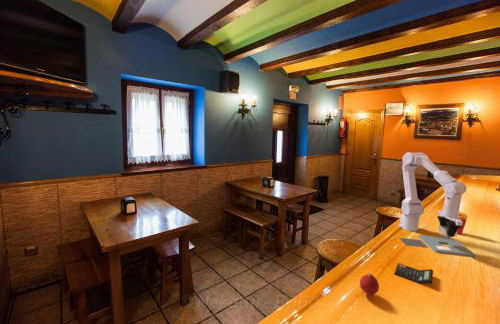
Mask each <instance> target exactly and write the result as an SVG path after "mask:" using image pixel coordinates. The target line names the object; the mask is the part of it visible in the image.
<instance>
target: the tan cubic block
mask: <svg viewBox="0 0 500 324" xmlns="http://www.w3.org/2000/svg"><path fill="white" fill-rule="evenodd" d="M437 230H438V232H439V233H440V234H442V237H444V238H446V239H450V238H451V237H449V236H448V227H447V226H443V225H440V224H439V225H438V229H437ZM457 235H458V234H457V232H456V233H455V235H454V237H457Z"/></svg>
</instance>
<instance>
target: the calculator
mask: <svg viewBox="0 0 500 324" xmlns="http://www.w3.org/2000/svg"><path fill="white" fill-rule="evenodd" d="M393 275H394V276H398V277H401V278H403V279H405V280H409V281H411V282H414V283H416V284H433V275H434V270H433V269H432V268H430V269H429V268H428V269H418V268H414V267H411V266H408V265H406V264H402V263H399V262H398V263H397V265H396V268H395V271H394V274H393Z"/></svg>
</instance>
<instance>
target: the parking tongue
mask: <svg viewBox="0 0 500 324" xmlns="http://www.w3.org/2000/svg"><path fill="white" fill-rule="evenodd" d="M398 239H399V240H400V241H401V242H402V243H403V244H404V245H405V246H409V247H419V248H424V249H426V248H427V249H429V246H428V245H427V244H426V243H425V242H424V241H423V240H421V239H415V238H404V237H398Z"/></svg>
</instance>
